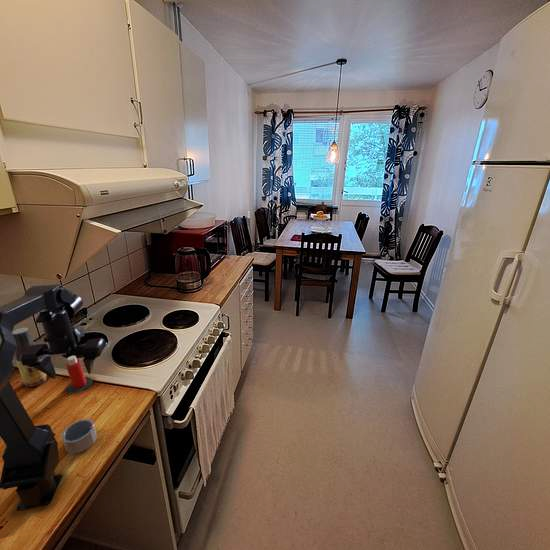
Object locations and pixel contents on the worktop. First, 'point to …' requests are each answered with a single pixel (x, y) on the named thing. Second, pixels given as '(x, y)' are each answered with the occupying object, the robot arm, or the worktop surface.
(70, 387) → the coaster
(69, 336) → the robot arm
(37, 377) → the sauce bottle
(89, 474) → the worktop surface
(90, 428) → the short metal can
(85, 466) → the worktop surface
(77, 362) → the ketchup
